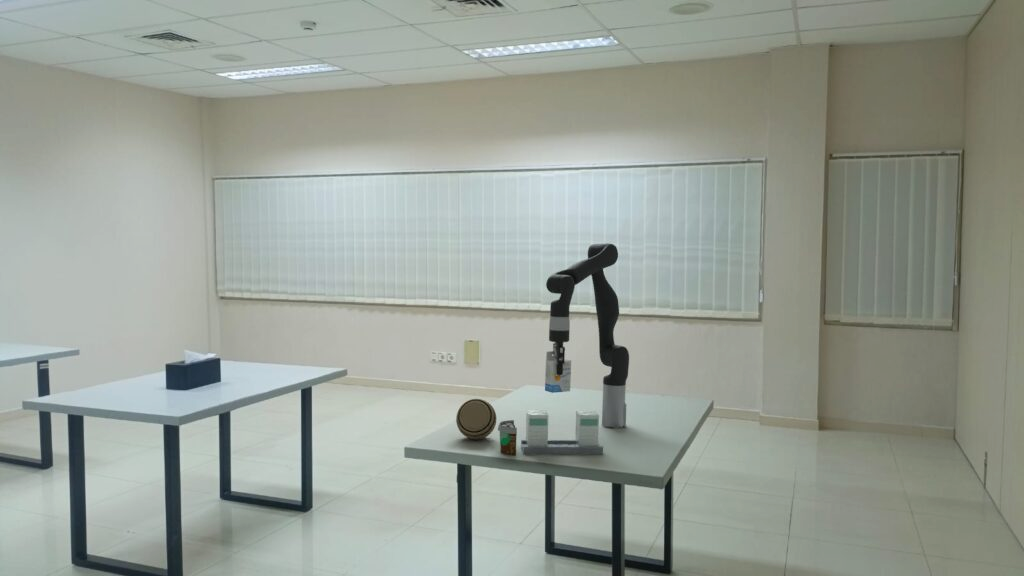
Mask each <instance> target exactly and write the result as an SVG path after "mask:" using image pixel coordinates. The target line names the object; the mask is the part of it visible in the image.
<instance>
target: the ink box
mask: <svg viewBox="0 0 1024 576" xmlns="http://www.w3.org/2000/svg"><path fill="white" fill-rule="evenodd" d="M553 354H555V353H554V351H553V350H551V351H550V350H549V351H547V352H546V357H545V375H544V376H545V381H544V383H545V384H544V391H545V392H548V393H551V394H553V393H566V392H567V393H568V392H571V380H572V379H571V378H572V377H571V376H572V375H571V374H572V360H570V359H567V358H564V361H565V363H564V364H563V374H562V375H557V364H556V362H557V361H556V359H555V356H553ZM559 360H562V359H559Z"/></svg>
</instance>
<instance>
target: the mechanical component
mask: <svg viewBox="0 0 1024 576" xmlns="http://www.w3.org/2000/svg"><path fill="white" fill-rule="evenodd" d="M455 422H456V426H457V429H458V431H459V432H460V433H461V435H463V436H464V437H465V438H468V439H470V440H482V439H485V438H487V437H489V436H490V435H491V434H492V432H493V431H494V430H495V427H496V425H497V414H496V410H495V408H494V407H493V406H492V404H491V403H490V402H487V400H485V399H481V398H471V399H469V400H467V401H465V402H463V404H461V405H460V407H459V409H458V410H457V412H456V417H455Z"/></svg>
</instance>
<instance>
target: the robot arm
mask: <svg viewBox="0 0 1024 576" xmlns="http://www.w3.org/2000/svg"><path fill="white" fill-rule="evenodd" d="M618 258H619V252H618V248H617V246H616V245H615V244H613V243H610V242H607V243H604V242H603V243H592V244H590V245H589V247H588V250H587V258H586V259H583V260H580V261H577V262H575V263H573V264H572V265H571V266H569V267H568V268H565V269H562V270H560V271H556V272H554V273H553V274H551V275H549V277H548V278H547V280H546V283H545V286H546V289H547V290H548V292H550V293H551V294H558V295H560V296H559V298H558V299H555V300H552V301H551V303H550V310H549V311H550V314H549V315H550V316H549V325H548V326H549V329H548V341H549V342H552V351H554V353H555V354H552V356H555V359H556V361H557V362H556V364H557V375H562V374H563V364H564V363H565V361H564V359H565V355H566V352H565V351H566V348H565V347H566V346H564V343H568V342H569V341H570V326H571V325H570V322H571V321H570V306H571V301H572V298H573V295H574V292H575V286H576V285H578V284H580V283H581V282H582V281H584V280H586V279H587V278H588V277H590V276H591V280H592V285H593V286H592V287H593V293H594V301H595V311H596V317H597V325H598V326H597V327H598V342H599V343H598V344H599V346H598V347H599V350H598V351H599V359H600V362H601V364H603V365H604V366H606V367H609V368H610V367H611V368H610V373H609V374H607V375H605V376H603V378H602V379H603V380H602V410H601V411H602V412H601V425H602V426H603V427H605V428H610V427H614V428H613V429H616V428H615V427H621V428H624V427H623V426H627V403H626V391H627V390H626V389H627V388H626V387H627V386H626V385H627V384H626V383H627V380H628V376H629V365H630V353H629V350H628V348H627V347H626V346H623V345H618V344H615V337H614V331H615V330H614V329H615V327H616V324H617V322H618V319H619V316H620V306H619V298H618V294H617V293H616V291H615V290H614V289H613V287H612V286H611V284H610V283H609V281H608V279H607V278H606V276H605V272H604V269H606V268H608V267H609V268H610V267H611V266H614V265H615V264H616V263H617V261H618ZM559 359H562V360H559Z"/></svg>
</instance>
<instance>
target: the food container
mask: <svg viewBox="0 0 1024 576" xmlns="http://www.w3.org/2000/svg"><path fill="white" fill-rule="evenodd" d="M497 430H498V431H499V447H500V449H499V450H500V454H502V455H507V456H515V457H516V456H517V432H518V431H517V427H516V425H515V420H513V419H510V420H503V421H499V424H498V426H497Z"/></svg>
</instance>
